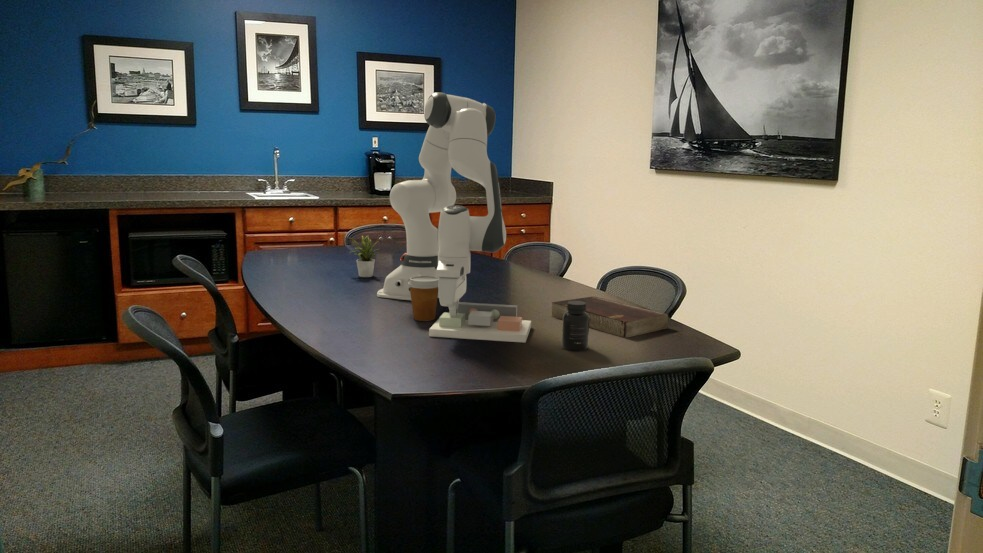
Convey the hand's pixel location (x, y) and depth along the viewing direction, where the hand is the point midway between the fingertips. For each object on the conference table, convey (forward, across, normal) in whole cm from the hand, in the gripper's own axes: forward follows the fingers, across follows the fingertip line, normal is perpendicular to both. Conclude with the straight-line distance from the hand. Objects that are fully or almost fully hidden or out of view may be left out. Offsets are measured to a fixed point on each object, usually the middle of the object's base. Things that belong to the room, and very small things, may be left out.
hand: (453, 315), depth 195 cm
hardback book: (+5, -21, +43) cm, 48 cm away
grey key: (+2, 0, +8) cm, 8 cm away
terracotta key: (+4, 0, +16) cm, 16 cm away
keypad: (+4, -2, +8) cm, 9 cm away
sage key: (+4, 0, 0) cm, 4 cm away
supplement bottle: (+5, +9, +34) cm, 35 cm away
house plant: (+4, -74, -50) cm, 89 cm away
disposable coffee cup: (+5, -13, -11) cm, 18 cm away
